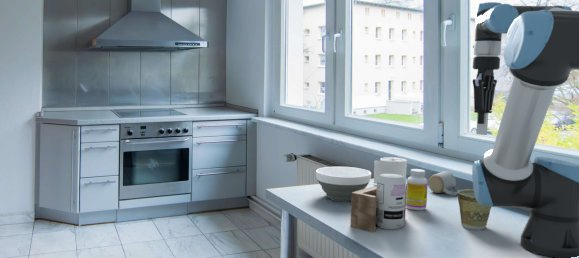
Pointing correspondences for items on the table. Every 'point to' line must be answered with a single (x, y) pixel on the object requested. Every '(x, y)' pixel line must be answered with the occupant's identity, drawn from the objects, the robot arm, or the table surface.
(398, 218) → the supplement can
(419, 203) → the supplement bottle
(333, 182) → the bowl
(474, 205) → the ceramic cup
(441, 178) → the ceramic mug
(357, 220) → the wooden bridge block
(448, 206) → the table surface
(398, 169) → the toilet tissue
